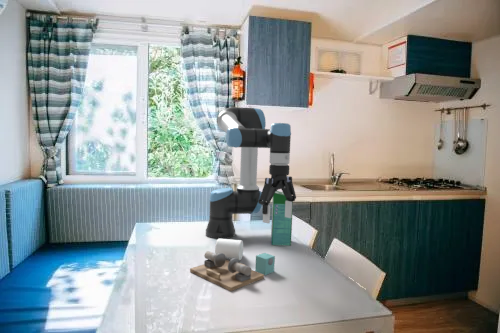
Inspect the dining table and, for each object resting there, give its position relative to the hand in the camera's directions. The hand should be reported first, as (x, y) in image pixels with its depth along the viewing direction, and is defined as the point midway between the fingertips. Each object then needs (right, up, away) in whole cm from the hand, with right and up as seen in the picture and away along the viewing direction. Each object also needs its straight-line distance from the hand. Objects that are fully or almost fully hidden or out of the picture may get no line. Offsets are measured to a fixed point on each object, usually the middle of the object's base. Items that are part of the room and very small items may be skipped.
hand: (277, 220), depth 132 cm
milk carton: (+4, -16, +35) cm, 39 cm away
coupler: (-5, -19, -2) cm, 20 cm away
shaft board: (-19, -19, -7) cm, 28 cm away
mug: (-19, -18, +12) cm, 28 cm away
